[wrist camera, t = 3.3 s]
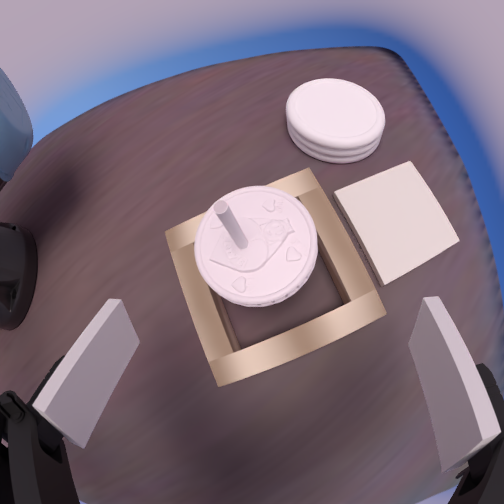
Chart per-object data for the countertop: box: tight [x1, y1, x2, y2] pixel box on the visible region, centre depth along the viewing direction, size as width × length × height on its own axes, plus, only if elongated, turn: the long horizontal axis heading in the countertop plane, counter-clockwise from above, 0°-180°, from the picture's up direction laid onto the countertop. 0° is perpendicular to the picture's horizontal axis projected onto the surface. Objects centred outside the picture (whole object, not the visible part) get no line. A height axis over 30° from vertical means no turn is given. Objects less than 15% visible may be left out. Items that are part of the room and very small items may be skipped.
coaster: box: [286, 79, 385, 164], centre depth 25 cm, size 10×10×4 cm
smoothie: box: [194, 186, 318, 307], centre depth 17 cm, size 6×6×14 cm
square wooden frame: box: [165, 168, 387, 387], centre depth 22 cm, size 13×13×3 cm
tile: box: [333, 161, 460, 287], centre depth 22 cm, size 9×9×1 cm
